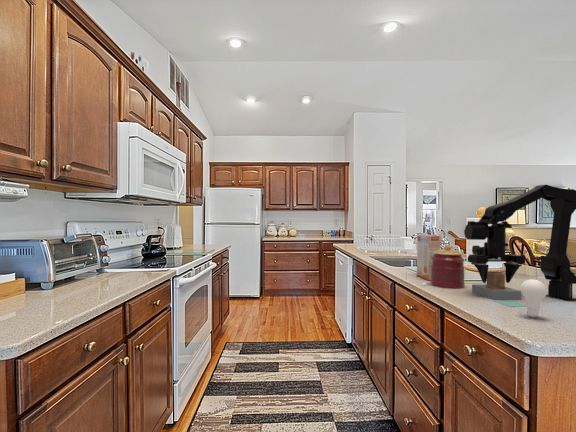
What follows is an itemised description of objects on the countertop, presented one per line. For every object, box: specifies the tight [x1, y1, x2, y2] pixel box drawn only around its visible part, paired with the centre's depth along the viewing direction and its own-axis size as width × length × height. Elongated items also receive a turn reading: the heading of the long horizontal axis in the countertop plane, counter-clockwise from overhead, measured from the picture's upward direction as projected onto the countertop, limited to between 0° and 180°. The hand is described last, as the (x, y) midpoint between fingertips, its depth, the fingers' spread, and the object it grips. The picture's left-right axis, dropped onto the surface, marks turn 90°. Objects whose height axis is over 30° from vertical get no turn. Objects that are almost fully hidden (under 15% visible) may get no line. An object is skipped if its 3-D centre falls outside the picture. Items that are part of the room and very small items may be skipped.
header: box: [471, 283, 522, 301], centre depth 120 cm, size 10×12×4 cm
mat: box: [493, 300, 527, 308], centre depth 109 cm, size 7×7×1 cm
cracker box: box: [416, 233, 442, 282], centre depth 158 cm, size 14×6×21 cm, turn 179°
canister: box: [430, 244, 466, 290], centre depth 139 cm, size 13×13×18 cm
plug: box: [486, 270, 506, 289], centre depth 120 cm, size 4×4×9 cm
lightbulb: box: [519, 278, 548, 318], centre depth 96 cm, size 6×6×11 cm
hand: (495, 282), depth 120 cm, fingers open, 9 cm apart
